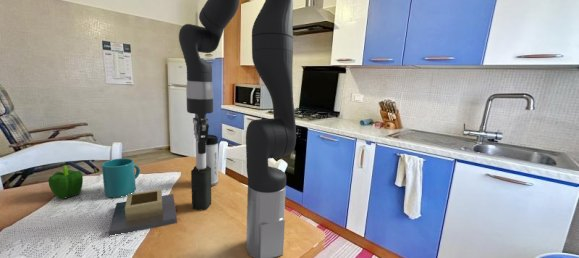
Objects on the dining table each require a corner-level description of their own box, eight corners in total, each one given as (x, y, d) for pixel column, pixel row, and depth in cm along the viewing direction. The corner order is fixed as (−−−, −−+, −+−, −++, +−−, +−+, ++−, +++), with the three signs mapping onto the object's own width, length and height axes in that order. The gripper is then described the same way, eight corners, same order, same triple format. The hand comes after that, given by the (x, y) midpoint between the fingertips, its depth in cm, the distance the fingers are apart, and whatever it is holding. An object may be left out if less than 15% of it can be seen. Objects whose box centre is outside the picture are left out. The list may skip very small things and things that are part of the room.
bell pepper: (79, 199, 80) (75, 170, 78) (46, 202, 76) (41, 173, 74) (88, 188, 87) (85, 162, 85) (59, 191, 84) (55, 163, 82)
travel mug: (200, 181, 98) (199, 133, 94) (216, 179, 101) (216, 132, 97) (201, 187, 93) (200, 137, 89) (219, 185, 95) (219, 136, 91)
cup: (149, 187, 91) (147, 158, 89) (116, 201, 80) (113, 168, 78) (131, 182, 94) (129, 154, 92) (98, 195, 83) (95, 164, 81)
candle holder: (176, 222, 70) (176, 205, 69) (108, 237, 62) (106, 217, 61) (173, 198, 84) (172, 183, 83) (117, 207, 76) (115, 191, 75)
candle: (212, 202, 82) (212, 130, 77) (206, 210, 77) (204, 134, 72) (198, 201, 83) (196, 129, 78) (190, 208, 78) (188, 133, 73)
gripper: (217, 99, 69) (218, 157, 72) (208, 95, 81) (209, 145, 84) (189, 98, 65) (191, 160, 68) (184, 94, 77) (185, 147, 80)
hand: (200, 151), depth 76 cm, fingers closed on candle, 3 cm apart
